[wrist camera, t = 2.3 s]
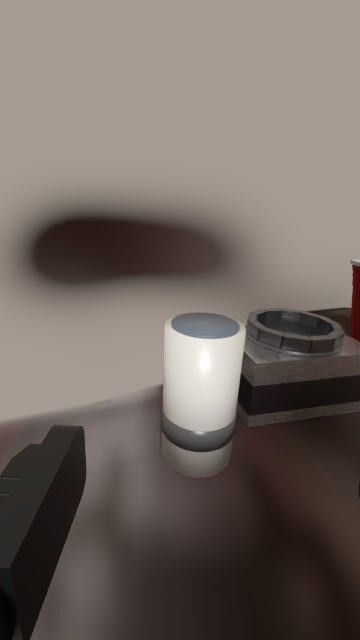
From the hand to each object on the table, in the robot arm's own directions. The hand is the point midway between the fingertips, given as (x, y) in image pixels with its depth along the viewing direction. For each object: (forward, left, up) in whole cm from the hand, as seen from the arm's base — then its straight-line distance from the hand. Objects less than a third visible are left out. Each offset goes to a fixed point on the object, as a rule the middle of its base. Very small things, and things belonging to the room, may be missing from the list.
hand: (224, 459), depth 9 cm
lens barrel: (-3, -11, -10) cm, 16 cm away
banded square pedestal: (-14, -17, -10) cm, 25 cm away
